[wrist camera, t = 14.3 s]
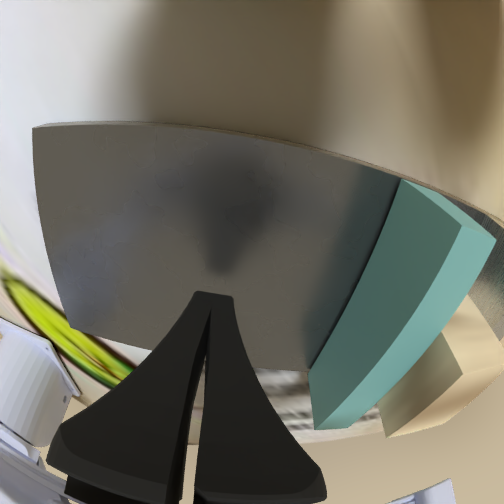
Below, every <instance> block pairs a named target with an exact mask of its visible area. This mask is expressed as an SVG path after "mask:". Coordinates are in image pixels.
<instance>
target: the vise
mask: <svg viewBox="0 0 504 504" xmlns="http://www.w3.org/2000/svg"><path fill="white" fill-rule="evenodd" d="M32 142H33V165H34V177H35V187H36V196H37V203H38V210H39V216H40V222H41V227H42V232H43V237H44V242H45V246H46V251H47V255H48V259H49V263H50V267H51V270H52V274H53V277H54V281H55V284H56V287H57V291H58V294H59V297H60V300H61V303H62V306H63V308H64V311H65V314H66V317H67V319H68V322H69V325H70V327H71V328H73V329H76V330H79V331H82V332H85V333H88V334H92V335H95V336H98V337H102V338H105V339H109V340H112V341H116V342H119V343H123V344H127V345H131V346H135V347H139V348H143V349H148V350H152V351H153V350H154V349H155V348H156V346H157V345H158V344H159V343H160V342H161V340H162V339H163V338H164V337H165V336H166V334H167V333H168V332H169V331H170V329H171V328H172V327H173V325H174V324H175V323H176V321H177V320H178V318H179V317H180V316H181V314H182V313H183V311H184V310H185V308H186V307H187V305H188V303H189V302H190V300H191V298H192V296H193V294H194V292H196V291H204V292H210V293H216V294H222V295H228V296H232V297H233V299H234V308H235V314H236V319H237V324H238V328H239V331H240V335H241V338H242V341H243V344H244V347H245V350H246V353H247V355H248V358H249V360H250V363H251V365H252V367H255V368H265V369H277V370H290V371H308V372H309V371H310V369H311V368H312V366H313V365H314V363H315V361H316V360H317V358H318V356H319V355H320V353H321V351H322V350H323V348H324V346H325V345H326V343H327V341H328V339H329V338H330V336H331V334H332V332H333V331H334V329H335V327H336V325H337V323H338V322H339V320H340V318H341V316H342V314H343V312H344V310H345V309H346V307H347V305H348V303H349V301H350V299H351V297H352V295H353V293H354V291H355V289H356V287H357V285H358V283H359V281H360V279H361V277H362V275H363V272H364V270H365V268H366V266H367V264H368V262H369V259H370V257H371V255H372V253H373V251H374V248H375V246H376V244H377V241H378V239H379V237H380V234H381V232H382V229H383V227H384V225H385V222H386V220H387V217H388V214H389V212H390V209H391V207H392V204H393V201H394V199H395V196H396V193H397V190H398V188H399V185H400V182H401V179H404V180H407V181H410V182H412V183H415V184H418V185H420V186H423V187H425V188H428V189H430V190H433V191H435V192H437V193H439V194H441V195H442V196H443V197H445V198H446V199H447V200H449V201H450V202H452V203H453V204H454V205H456V206H457V207H458V208H459V209H461V210H462V211H463V212H465V213H466V214H467V215H468V216H470V217H471V218H472V219H473V220H475V221H476V222H477V223H478V224H479V225H480V226H482V227H483V228H484V229H485V230H486V231H487V232H489V233H490V234H491V235H492V236H493V237H494V238H495V239H496V240H497V241H496V243H495V245H494V247H493V249H492V251H491V253H490V255H489V257H488V259H487V261H486V262H485V264H484V266H483V268H482V270H481V272H480V273H479V275H478V277H477V278H476V280H475V282H474V284H473V285H472V287H471V288H470V290H469V292H468V293H467V294H468V295H469V297H470V298H471V300H472V301H473V302H474V304H475V305H476V307H477V308H478V309H479V311H480V312H481V314H482V315H483V317H484V318H485V320H486V321H487V323H488V324H489V326H490V327H491V329H492V330H493V332H494V334H495V335H496V337H497V338H498V340H499V341H500V340H501V339H502V337H503V336H504V222H503V221H502V220H501V219H499V218H497V217H495V216H493V215H492V214H490V213H488V212H486V211H484V210H482V209H480V208H478V207H476V206H474V205H472V204H470V203H468V202H466V201H464V200H462V199H460V198H457V197H455V196H453V195H451V194H449V193H446V192H444V191H442V190H440V189H437V188H435V187H432V186H430V185H428V184H425V183H423V182H420V181H418V180H415V179H413V178H410V177H407V176H405V175H402V174H399V173H396V172H394V171H391V170H388V169H385V168H382V167H379V166H376V165H373V164H370V163H367V162H364V161H361V160H357V159H354V158H351V157H347V156H344V155H341V154H337V153H333V152H330V151H326V150H322V149H318V148H314V147H310V146H306V145H302V144H298V143H293V142H289V141H284V140H279V139H275V138H270V137H264V136H259V135H254V134H248V133H242V132H236V131H229V130H222V129H215V128H207V127H199V126H190V125H180V124H168V123H153V122H131V121H84V122H63V123H49V124H44V125H40V126H37V127H34V128H32ZM204 361H206V356H205V360H204Z"/></svg>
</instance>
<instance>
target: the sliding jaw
mask: <svg viewBox="0 0 504 504" xmlns="http://www.w3.org/2000/svg"><path fill="white" fill-rule="evenodd" d="M496 241H497V240H496V239H495V238H494V237H493V236H492V235H491V234H490V233H489V232H487V231H486V230H485V229H484V228H483V227H482V226H480V225H479V224H478V223H477V222H476V221H475V220H473V219H472V218H471V217H470V216H468V215H467V214H466V213H465V212H463V211H462V210H461V209H459V208H458V207H457V206H456V205H454V204H453V203H452V202H450V201H449V200H447V199H446V198H445V197H443V196H442V195H441V194H439V193H437V192H435V191H433V190H430V189H428V188H425V187H423V186H420V185H418V184H415V183H412V182H410V181H407V180H404V179H401V182H400V185H399V188H398V190H397V193H396V196H395V199H394V201H393V204H392V207H391V209H390V212H389V214H388V217H387V220H386V222H385V225H384V227H383V229H382V232H381V234H380V237H379V239H378V241H377V244H376V246H375V248H374V251H373V253H372V255H371V257H370V259H369V262H368V264H367V266H366V268H365V270H364V272H363V275H362V277H361V279H360V281H359V283H358V285H357V287H356V289H355V291H354V293H353V295H352V297H351V299H350V301H349V303H348V305H347V307H346V309H345V310H344V312H343V314H342V316H341V318H340V320H339V322H338V323H337V325H336V327H335V329H334V331H333V332H332V334H331V336H330V338H329V339H328V341H327V343H326V345H325V346H324V348H323V350H322V351H321V353H320V355H319V356H318V358H317V360H316V361H315V363H314V365H313V366H312V368H311V369H310V371H309V373H308V381H309V388H310V396H311V404H312V412H313V421H314V430H326V429H341V428H348V427H349V426H351V425H352V424H353V423H354V422H355V421H357V420H358V419H359V418H360V417H361V416H362V415H364V414H365V413H366V412H367V411H368V410H369V409H370V408H371V407H373V406H374V405H375V404H376V403H377V402H378V401H379V400H380V399H381V398H382V397H383V396H384V395H385V394H386V393H387V392H388V391H389V390H390V389H391V388H392V387H393V386H394V385H395V384H396V383H397V382H398V381H399V380H400V379H401V378H402V377H403V376H404V375H405V374H406V373H407V372H408V371H409V369H410V368H411V367H412V366H413V365H414V364H415V363H416V362H417V360H418V359H419V358H420V357H421V356H422V355H423V353H424V352H425V351H426V350H427V349H428V347H429V346H430V345H431V344H432V342H433V341H434V340H435V339H436V337H437V336H438V335H439V333H440V332H441V331H442V330H443V328H444V327H445V326H446V324H447V323H448V321H449V320H450V319H451V317H452V316H453V314H454V313H455V311H456V310H457V309H458V307H459V306H460V304H461V303H462V301H463V300H464V298H465V296H466V295H467V293H468V292H469V290H470V288H471V287H472V285H473V284H474V282H475V280H476V278H477V277H478V275H479V273H480V272H481V270H482V268H483V266H484V264H485V262H486V261H487V259H488V257H489V255H490V253H491V251H492V249H493V247H494V245H495V243H496Z"/></svg>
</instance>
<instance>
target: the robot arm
mask: <svg viewBox="0 0 504 504" xmlns="http://www.w3.org/2000/svg"><path fill="white" fill-rule="evenodd" d="M0 332H1V334H2V335H3V338H2V339H1V341H0V504H71V503H69V501H68V499H70V500H72V501H75V502H77V503H79V504H179V501H180V500H181V499H182V494H183V482H184V472H185V462H186V453H187V445H188V437H189V429H190V421H191V414H192V409H193V404H194V400H195V396H196V392H197V388H198V384H199V380H200V376H201V372H202V368H203V364H204V360H205V356H206V364H205V390H204V408H203V415H202V423H201V431H200V439H199V448H198V456H197V465H196V474H195V483H194V501H193V504H313V503H317V502H321V501H324V500H325V499H326V498H327V490H326V485H325V481H324V478H323V474H322V471H321V469H320V467H319V466H318V465H317V464H316V463H315V462H314V461H313V460H312V459H311V458H310V456H309V455H308V454H307V453H306V452H305V451H304V450H303V448H302V447H301V446H300V445H299V444H298V442H297V441H296V440H295V438H294V437H293V436H292V434H291V433H290V432H289V431H288V429H287V428H286V426H285V425H284V423H283V422H282V420H281V419H280V417H279V416H278V414H277V413H276V411H275V410H274V408H273V407H272V405H271V403H270V401H269V400H268V398H267V396H266V394H265V393H264V391H263V389H262V387H261V385H260V383H259V381H258V379H257V377H256V375H255V372H254V370H253V368H252V365H251V363H250V360H249V358H248V355H247V353H246V350H245V347H244V344H243V341H242V338H241V335H240V331H239V328H238V324H237V319H236V314H235V308H234V299H233V297H232V296H228V295H222V294H216V293H210V292H204V291H196V292H194V294H193V296H192V298H191V300H190V302H189V303H188V305H187V307H186V308H185V310H184V311H183V313H182V314H181V316H180V317H179V318H178V320H177V321H176V323H175V324H174V325H173V327H172V328H171V329H170V331H169V332H168V333H167V334H166V336H165V337H164V338H163V339H162V340H161V342H160V343H159V344H158V345H157V346H156V348H155V349H154V350H153V351H152V352H151V353H150V354H149V355H148V356H147V357H146V359H145V360H144V361H143V362H142V363H141V364H140V365H139V366H138V367H137V368H136V369H135V370H133V371H132V372H131V373H130V374H129V375H128V376H127V377H126V378H125V379H124V380H122V381H121V382H120V383H119V384H118V385H117V386H115V387H114V388H113V389H112V390H110V391H109V392H108V393H106V394H105V395H104V396H102V397H101V398H100V399H98V400H97V401H96V402H94V403H93V404H92V405H90V406H89V407H87V408H86V409H84V410H83V411H81V412H79V413H78V414H76V415H74V416H73V417H71V418H70V419H68V420H66V421H65V422H63V423H62V420H63V418H64V415H65V412H66V410H67V407H68V404H69V402H70V399H71V397H72V394H73V395H75V396H80V394H81V393H80V392H79V390H78V388H77V387H76V385H75V384H74V382H73V381H72V379H71V377H70V376H69V374H68V372H67V371H66V369H65V367H64V366H63V364H62V362H61V360H60V358H59V357H58V355H57V353H56V351H55V349H54V347H53V345H52V344H51V342H50V341H49V340H47V339H45V338H43V337H40V336H38V335H36V334H33V333H31V332H29V331H27V330H24V329H22V328H20V327H18V326H16V325H14V324H12V323H10V322H8V321H6V320H4V319H2V318H0ZM49 444H51V445H50V448H49V451H48V454H47V458H46V462H47V464H48V465H51V466H52V467H54V468H56V469H58V470H59V471H61V472H63V473H65V474H67V475H68V477H67V481H66V480H63V479H61V478H60V477H57V476H56V475H54V474H52V473H50V472H48V471H46V468H45V466H44V463H43V460H42V458H41V457H40V456H39V455H40V451H39V450H37V449H35V448H34V447H45V446H48V445H49ZM31 445H32V446H34V447H32V446H31ZM386 504H456V503H455V496H454V491H453V486H452V481H451V479H450V478H449V479H446V480H444V481H442V482H440V483H437V484H435V485H433V486H431V487H429V488H426V489H424V490H421V491H418V492H415V493H413V494H410V495H407V496H405V497H402V498H399V499H396V500H393V501H392V502H389V503H386Z"/></svg>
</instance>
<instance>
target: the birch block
mask: <svg viewBox="0 0 504 504" xmlns="http://www.w3.org/2000/svg"><path fill="white" fill-rule="evenodd" d="M503 371H504V348H503V347H502V345H501V343H500V342H499V340H498V338H497V337H496V335H495V334H494V332H493V330H492V329H491V327H490V326H489V324H488V323H487V321H486V320H485V318H484V317H483V315H482V314H481V312H480V311H479V309H478V308H477V307H476V305H475V304H474V302H473V301H472V300H471V298H470V297H469V295H468V294H467V295H466V296H465V298H464V300H463V301H462V303H461V304H460V306H459V307H458V309H457V310H456V311H455V313H454V314H453V316H452V317H451V319H450V320H449V321H448V323H447V324H446V326H445V327H444V328H443V330H442V331H441V332H440V333H439V335H438V336H437V337H436V339H435V340H434V341H433V342H432V344H431V345H430V346H429V347H428V349H427V350H426V351H425V352H424V353H423V355H422V356H421V357H420V358H419V359H418V360H417V362H416V363H415V364H414V365H413V366H412V367H411V368H410V369H409V371H408V372H407V373H406V374H405V375H404V376H403V377H402V378H401V379H400V380H399V381H398V382H397V383H396V384H395V385H394V386H393V387H392V388H391V389H390V390H389V391H388V392H387V393H386V394H385V395H384V396H383V397H382V398H381V399H380V400H379V401H378V402H377V403H378V407H379V411H380V415H381V419H382V423H383V427H384V431H385V435H386V438H390V437H394V436H399V435H403V434H408V433H412V432H416V431H420V430H424V429H427V428H430V427H434V426H437V425H441V424H444V423H445V422H447V421H448V420H449V419H451V418H452V417H453V416H454V415H455V414H457V413H458V412H459V411H461V410H462V409H463V408H464V407H465V406H467V405H468V404H469V403H470V402H471V401H472V400H474V399H475V398H476V397H477V396H478V395H479V394H480V393H481V392H482V391H483V390H485V388H487V387H488V386H489V385H490V384H491V383H492V382H493V381H494V380H495V379H496V378H497V377H498V376H499V375H500V374H501V373H502V372H503Z"/></svg>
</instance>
